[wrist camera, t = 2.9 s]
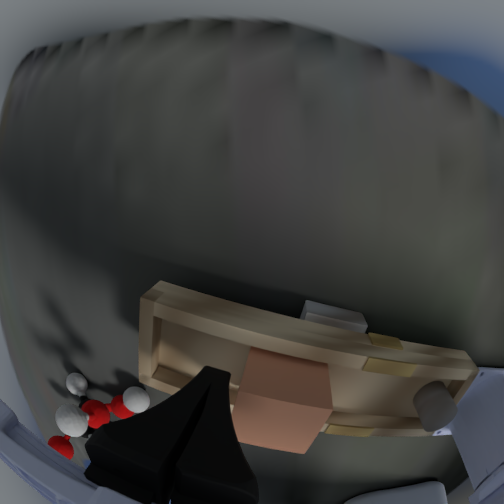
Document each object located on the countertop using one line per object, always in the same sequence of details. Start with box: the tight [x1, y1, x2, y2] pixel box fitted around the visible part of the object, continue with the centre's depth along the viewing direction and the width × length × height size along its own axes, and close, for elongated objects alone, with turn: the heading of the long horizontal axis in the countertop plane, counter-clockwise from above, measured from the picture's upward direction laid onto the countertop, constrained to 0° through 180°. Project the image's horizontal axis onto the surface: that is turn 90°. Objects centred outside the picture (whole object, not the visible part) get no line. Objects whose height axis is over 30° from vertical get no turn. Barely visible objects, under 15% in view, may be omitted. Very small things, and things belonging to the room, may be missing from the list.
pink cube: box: [231, 346, 333, 454], centre depth 12 cm, size 4×4×4 cm
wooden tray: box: [139, 280, 480, 437], centre depth 14 cm, size 20×7×5 cm, turn 77°
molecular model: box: [48, 373, 150, 460], centre depth 17 cm, size 16×8×10 cm, turn 148°
